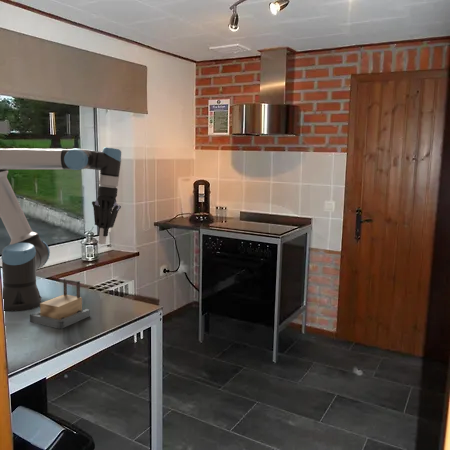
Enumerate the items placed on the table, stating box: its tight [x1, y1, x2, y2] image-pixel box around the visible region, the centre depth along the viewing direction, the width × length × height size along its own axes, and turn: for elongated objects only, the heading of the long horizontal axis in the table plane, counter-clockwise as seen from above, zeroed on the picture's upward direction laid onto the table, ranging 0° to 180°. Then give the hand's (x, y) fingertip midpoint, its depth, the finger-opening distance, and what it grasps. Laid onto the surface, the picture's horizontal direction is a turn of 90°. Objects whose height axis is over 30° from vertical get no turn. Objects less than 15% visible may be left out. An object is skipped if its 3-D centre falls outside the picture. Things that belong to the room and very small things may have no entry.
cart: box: [39, 278, 83, 320], centre depth 162 cm, size 9×12×13 cm
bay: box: [29, 308, 91, 330], centre depth 163 cm, size 14×14×2 cm
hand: (101, 243), depth 187 cm, fingers closed
